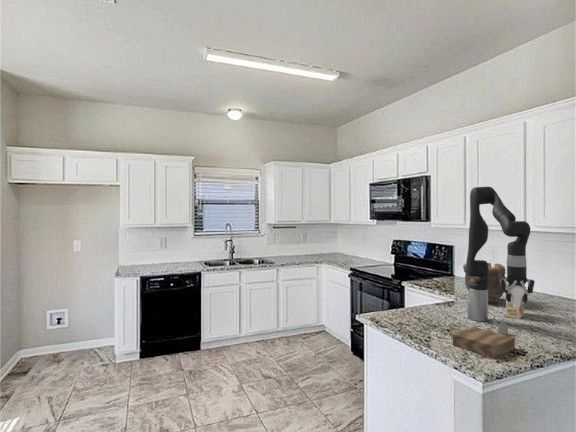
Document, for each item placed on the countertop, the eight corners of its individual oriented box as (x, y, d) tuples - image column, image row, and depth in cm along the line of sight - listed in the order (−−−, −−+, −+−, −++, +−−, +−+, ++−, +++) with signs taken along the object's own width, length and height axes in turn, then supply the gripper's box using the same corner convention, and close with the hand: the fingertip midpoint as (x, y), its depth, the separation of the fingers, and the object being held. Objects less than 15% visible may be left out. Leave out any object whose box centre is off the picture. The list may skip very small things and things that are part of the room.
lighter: (507, 333, 175) (507, 317, 175) (508, 334, 173) (507, 318, 173) (491, 331, 178) (491, 315, 178) (491, 332, 177) (491, 316, 177)
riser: (452, 345, 160) (452, 334, 160) (474, 337, 170) (474, 326, 170) (493, 358, 145) (493, 346, 145) (514, 348, 155) (514, 337, 155)
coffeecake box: (519, 319, 198) (519, 284, 198) (505, 317, 203) (505, 283, 202) (524, 313, 209) (524, 280, 209) (510, 311, 214) (510, 279, 214)
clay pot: (469, 295, 256) (468, 260, 256) (510, 300, 240) (510, 263, 239) (458, 302, 237) (458, 265, 237) (502, 308, 220) (502, 268, 220)
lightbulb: (507, 306, 165) (506, 282, 165) (522, 307, 163) (521, 283, 163) (511, 309, 159) (510, 285, 159) (526, 310, 157) (526, 286, 157)
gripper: (502, 266, 158) (502, 303, 159) (538, 266, 156) (538, 304, 156) (496, 263, 166) (496, 299, 166) (530, 264, 163) (530, 300, 163)
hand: (516, 301), depth 161 cm, fingers closed on lightbulb, 5 cm apart
